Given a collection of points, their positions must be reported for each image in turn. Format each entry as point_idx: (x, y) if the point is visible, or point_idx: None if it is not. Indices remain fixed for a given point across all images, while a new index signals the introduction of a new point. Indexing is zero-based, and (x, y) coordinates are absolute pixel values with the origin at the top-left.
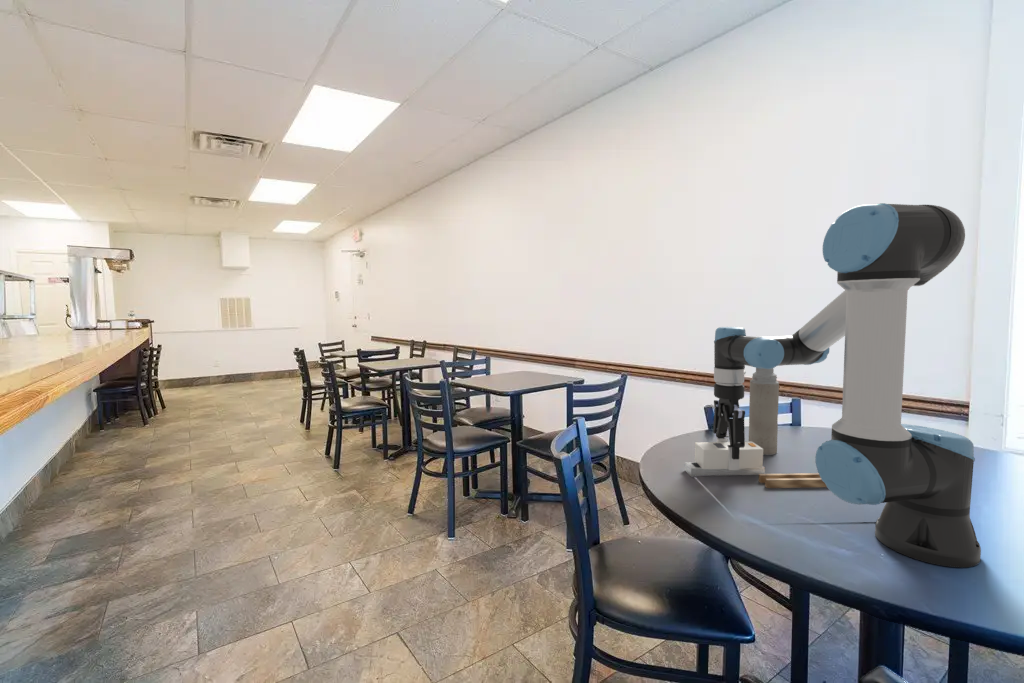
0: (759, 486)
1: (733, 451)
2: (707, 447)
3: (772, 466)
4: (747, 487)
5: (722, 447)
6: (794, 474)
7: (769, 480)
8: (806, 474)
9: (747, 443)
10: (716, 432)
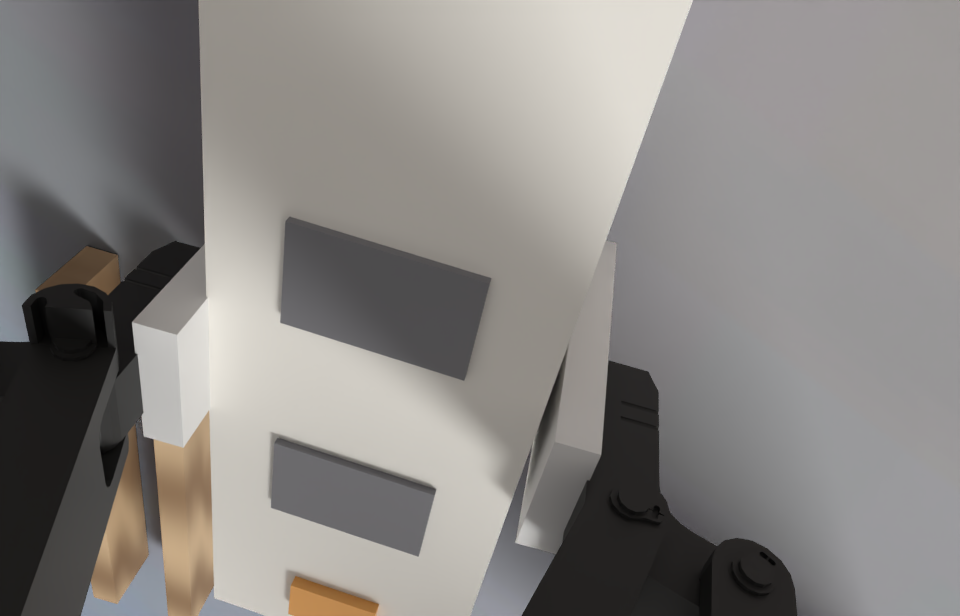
0: (145, 237)
1: (121, 304)
2: (341, 53)
3: (506, 570)
4: (119, 131)
5: (279, 280)
6: (165, 515)
7: None
8: (169, 563)
9: (395, 610)
10: (649, 553)
